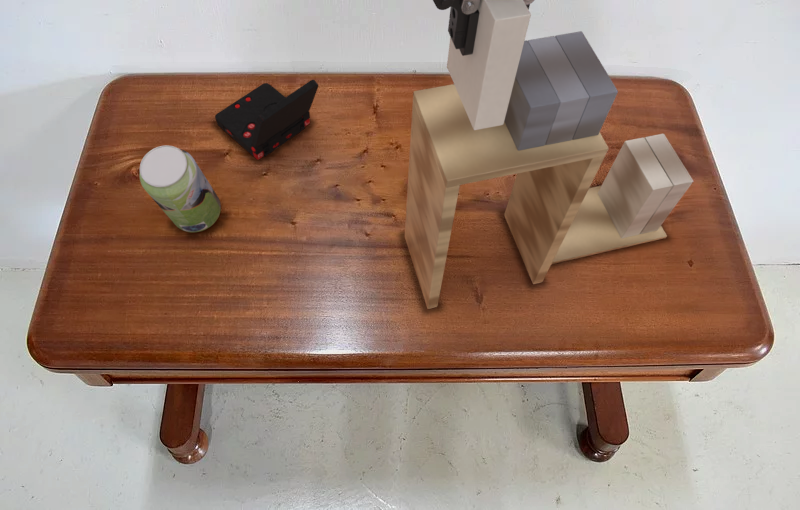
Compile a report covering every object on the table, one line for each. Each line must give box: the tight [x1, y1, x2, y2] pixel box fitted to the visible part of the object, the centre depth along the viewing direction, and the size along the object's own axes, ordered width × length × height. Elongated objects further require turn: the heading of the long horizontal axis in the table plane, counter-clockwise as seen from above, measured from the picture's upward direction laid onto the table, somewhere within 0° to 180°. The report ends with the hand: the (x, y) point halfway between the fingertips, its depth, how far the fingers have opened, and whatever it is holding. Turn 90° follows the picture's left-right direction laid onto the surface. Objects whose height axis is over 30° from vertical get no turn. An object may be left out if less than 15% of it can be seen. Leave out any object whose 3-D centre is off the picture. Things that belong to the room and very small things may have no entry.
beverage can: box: [139, 144, 222, 233], centre depth 69 cm, size 6×7×12 cm
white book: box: [446, 0, 532, 130], centre depth 43 cm, size 7×2×10 cm, turn 15°
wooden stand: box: [404, 30, 619, 310], centre depth 59 cm, size 10×14×29 cm
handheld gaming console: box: [214, 79, 319, 160], centre depth 77 cm, size 9×12×10 cm
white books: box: [551, 133, 694, 265], centre depth 70 cm, size 9×16×10 cm, turn 105°
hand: (483, 43), depth 43 cm, fingers closed on white book, 2 cm apart
